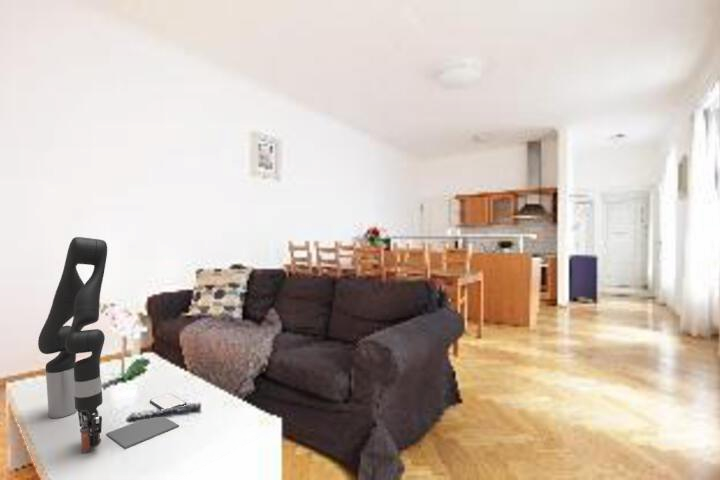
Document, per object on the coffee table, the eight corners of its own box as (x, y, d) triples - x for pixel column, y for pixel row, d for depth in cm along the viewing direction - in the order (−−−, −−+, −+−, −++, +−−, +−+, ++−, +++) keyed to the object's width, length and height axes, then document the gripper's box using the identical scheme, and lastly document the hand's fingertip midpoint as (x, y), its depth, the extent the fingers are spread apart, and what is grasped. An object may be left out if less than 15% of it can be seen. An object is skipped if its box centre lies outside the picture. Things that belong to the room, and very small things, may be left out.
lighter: (93, 440, 141) (91, 411, 141) (103, 440, 141) (102, 410, 141) (78, 454, 133) (76, 423, 133) (89, 453, 133) (87, 422, 133)
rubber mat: (106, 435, 145) (106, 433, 145) (158, 415, 159) (158, 413, 159) (125, 449, 135) (125, 447, 135) (179, 426, 149) (178, 425, 149)
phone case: (148, 403, 171) (165, 414, 160) (148, 399, 170) (165, 410, 160) (170, 396, 177) (188, 406, 166) (170, 392, 177) (187, 402, 166)
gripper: (110, 393, 135) (112, 445, 136) (92, 382, 144) (95, 431, 144) (83, 401, 129) (86, 455, 130) (66, 390, 138) (69, 441, 139)
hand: (91, 442), depth 137 cm, fingers closed on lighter, 5 cm apart
